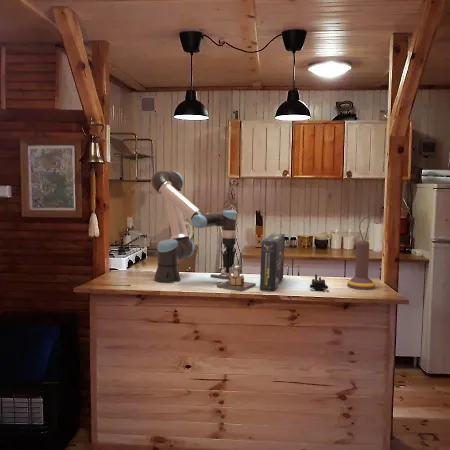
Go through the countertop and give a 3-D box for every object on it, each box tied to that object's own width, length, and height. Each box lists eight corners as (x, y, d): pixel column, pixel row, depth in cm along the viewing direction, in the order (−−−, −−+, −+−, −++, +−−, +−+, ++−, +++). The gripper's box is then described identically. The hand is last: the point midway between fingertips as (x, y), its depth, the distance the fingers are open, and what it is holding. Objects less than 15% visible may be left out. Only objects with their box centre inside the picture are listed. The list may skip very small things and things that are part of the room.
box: (275, 292, 257) (277, 240, 254) (259, 290, 259) (260, 240, 256) (284, 279, 291) (285, 233, 288) (269, 278, 293) (270, 233, 290)
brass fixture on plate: (216, 287, 265) (216, 266, 264) (231, 282, 279) (231, 262, 277) (241, 291, 257) (242, 269, 256) (255, 286, 270) (256, 265, 269)
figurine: (232, 279, 301) (229, 281, 286) (219, 276, 303) (215, 277, 288) (237, 262, 301) (233, 262, 287) (223, 258, 303) (219, 258, 288)
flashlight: (350, 216, 264) (350, 215, 278) (347, 288, 267) (347, 283, 282) (379, 217, 260) (377, 215, 274) (375, 290, 264) (374, 285, 278)
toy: (309, 281, 290) (309, 291, 260) (310, 274, 290) (310, 282, 260) (325, 282, 288) (327, 292, 259) (326, 274, 288) (328, 283, 259)
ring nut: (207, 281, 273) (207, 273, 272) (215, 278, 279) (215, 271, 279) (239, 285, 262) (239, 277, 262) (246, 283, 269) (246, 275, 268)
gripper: (228, 239, 267) (228, 281, 269) (240, 236, 278) (239, 277, 280) (217, 238, 271) (216, 279, 273) (229, 235, 282) (228, 275, 284)
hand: (228, 278), depth 276 cm, fingers closed
